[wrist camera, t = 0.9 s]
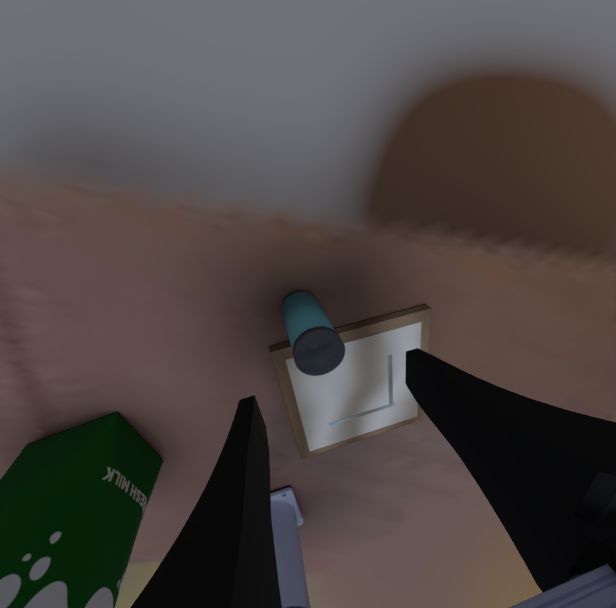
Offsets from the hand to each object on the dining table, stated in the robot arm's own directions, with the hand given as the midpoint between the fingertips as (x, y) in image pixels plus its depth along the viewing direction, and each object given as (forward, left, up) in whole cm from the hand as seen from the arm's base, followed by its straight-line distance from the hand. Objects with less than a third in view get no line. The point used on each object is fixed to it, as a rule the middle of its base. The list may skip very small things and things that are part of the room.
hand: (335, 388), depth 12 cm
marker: (0, 0, -9) cm, 9 cm away
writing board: (+4, -10, -9) cm, 14 cm away
